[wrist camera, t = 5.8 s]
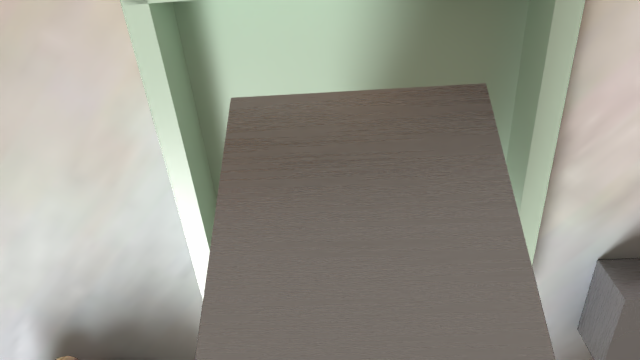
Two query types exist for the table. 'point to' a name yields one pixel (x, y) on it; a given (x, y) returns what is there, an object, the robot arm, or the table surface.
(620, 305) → the stud mount
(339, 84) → the tray
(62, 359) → the brake caliper
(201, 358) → the strut
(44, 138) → the table surface
